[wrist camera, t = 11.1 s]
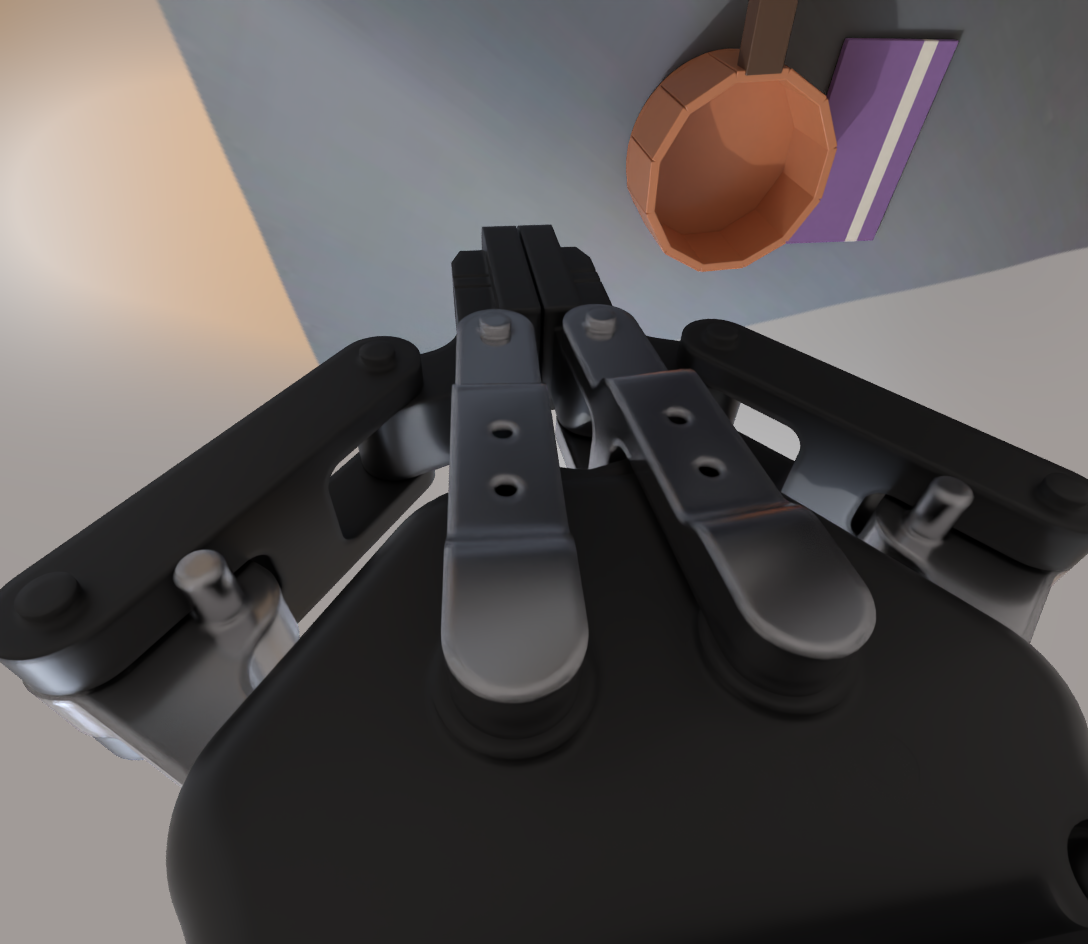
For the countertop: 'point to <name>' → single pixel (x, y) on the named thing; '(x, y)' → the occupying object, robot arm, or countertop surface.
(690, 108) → the pan
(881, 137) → the towel
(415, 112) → the countertop surface
